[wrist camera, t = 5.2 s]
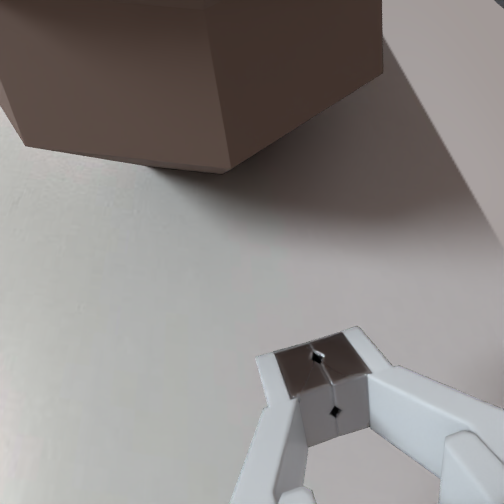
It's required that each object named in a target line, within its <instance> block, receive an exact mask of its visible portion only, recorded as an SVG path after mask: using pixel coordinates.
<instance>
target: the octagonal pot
mask: <svg viewBox="0 0 504 504" xmlns="http://www.w3.org/2000/svg"><path fill="white" fill-rule="evenodd" d="M382 73H383V38H382V0H0V106H1V107H2V109H3V111H4V112H5V114H6V115H7V117H8V119H9V120H10V122H11V124H12V125H13V127H14V128H15V130H16V132H17V133H18V135H19V136H20V138H21V140H22V141H23V143H24V145H25V146H27V147H33V148H40V149H46V150H52V151H58V152H64V153H70V154H76V155H82V156H88V157H95V158H101V159H107V160H113V161H119V162H125V163H131V164H137V165H143V166H152V167H161V168H170V169H178V170H187V171H196V172H205V173H214V174H223V173H225V172H227V171H229V170H230V169H232V168H234V167H235V166H237V165H238V164H240V163H242V162H243V161H245V160H246V159H248V158H249V157H251V156H253V155H254V154H256V153H257V152H259V151H261V150H262V149H264V148H265V147H267V146H268V145H270V144H272V143H273V142H275V141H276V140H278V139H280V138H281V137H283V136H284V135H286V134H287V133H289V132H291V131H292V130H294V129H295V128H297V127H299V126H300V125H302V124H303V123H305V122H306V121H308V120H310V119H311V118H313V117H314V116H316V115H317V114H319V113H321V112H322V111H324V110H325V109H327V108H329V107H330V106H332V105H333V104H335V103H336V102H338V101H340V100H341V99H343V98H344V97H346V96H348V95H349V94H351V93H352V92H354V91H355V90H357V89H359V88H360V87H362V86H363V85H365V84H367V83H368V82H370V81H371V80H373V79H374V78H376V77H378V76H379V75H381V74H382Z"/></svg>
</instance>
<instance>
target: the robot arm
mask: <svg viewBox="0 0 504 504" xmlns="http://www.w3.org/2000/svg"><path fill="white" fill-rule="evenodd" d="M256 363H257V367H258V371H259V374H260V378H261V382H262V386H263V390H264V394H265V397H266V401H267V405H268V407H266V408H263V411H262V414H261V417H260V420H259V422H258V425H257V428H256V431H255V434H254V436H253V439H252V442H251V445H250V448H249V450H248V453H247V456H246V459H245V462H244V464H243V467H242V470H241V473H240V476H239V478H238V481H237V484H236V487H235V489H234V492H233V495H232V498H231V501H230V503H229V504H317V503H316V500H315V498H314V495H313V492H312V490H310V489H308V488H306V487H304V486H303V483H304V476H305V469H306V462H307V456H308V447H311V446H314V445H317V444H319V443H322V442H325V441H327V440H330V439H333V438H335V437H338V436H341V435H345V434H348V433H351V432H355V431H358V430H361V429H365V428H368V427H371V429H372V430H373V431H375V432H376V433H377V434H379V435H380V436H382V437H383V438H384V439H386V440H387V441H388V442H390V443H391V444H393V445H394V446H395V447H397V448H398V449H399V450H401V451H402V452H404V453H405V454H406V455H408V456H409V457H411V458H412V459H413V460H415V461H416V462H417V463H419V464H420V465H422V466H423V467H424V468H426V469H427V470H429V471H430V472H431V473H433V474H434V475H435V476H437V477H438V478H440V479H441V483H440V493H439V503H438V504H504V409H502V408H500V407H497V406H495V405H492V404H490V403H488V402H485V401H483V400H481V399H478V398H476V397H473V396H471V395H469V394H466V393H464V392H462V391H459V390H457V389H454V388H452V387H450V386H447V385H445V384H442V383H440V382H438V381H435V380H433V379H431V378H428V377H426V376H423V375H421V374H419V373H416V372H414V371H412V370H409V369H407V368H404V367H402V366H400V365H398V366H394V367H393V366H392V364H391V363H390V362H389V361H388V360H387V359H386V357H385V356H384V355H383V354H382V353H381V351H380V350H379V349H378V348H377V347H376V346H375V344H374V343H373V342H372V341H371V340H370V339H369V337H368V336H367V335H366V334H365V333H364V332H363V330H362V329H361V328H360V327H358V326H355V327H352V328H349V329H346V330H343V331H340V332H337V333H334V334H331V335H328V336H324V337H321V338H318V339H315V340H312V341H308V342H306V343H302V344H298V345H295V346H291V347H288V348H284V349H280V350H277V351H273V352H271V353H267V354H264V355H260V356H256Z"/></svg>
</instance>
